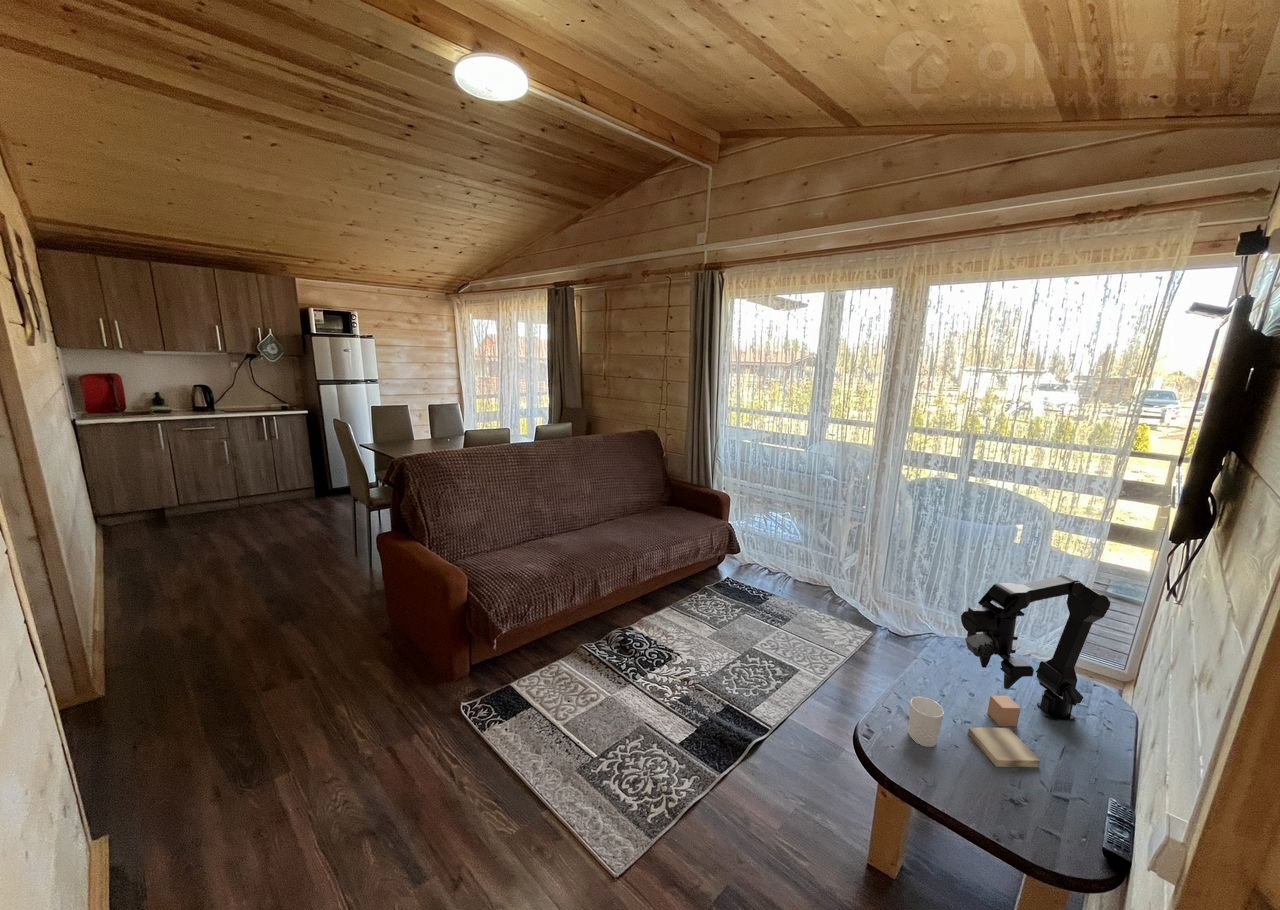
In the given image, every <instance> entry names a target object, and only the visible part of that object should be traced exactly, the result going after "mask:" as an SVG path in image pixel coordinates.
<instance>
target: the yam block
mask: <svg viewBox="0 0 1280 910" xmlns="http://www.w3.org/2000/svg"><path fill="white" fill-rule="evenodd" d="M1020 712H1021V707H1020V706H1019V705H1018V704H1017V703H1016V702H1015V701H1014V700H1013V699H1011V697H1009V695H990V697H989V701H988V708H987V714H988V716H989V717H991V719H992V720H993V721H994V723H996V724H997V725H998V726H999V727H1018V723H1019V719H1020Z"/></svg>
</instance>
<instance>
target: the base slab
mask: <svg viewBox="0 0 1280 910" xmlns="http://www.w3.org/2000/svg"><path fill="white" fill-rule="evenodd" d="M967 734H968V736H969V737H970V738H971V739H972V741H973V742H974V743H975V744H976V745H977V747H978V748H980V750H981V751H982V752H983V753H984V755H985V756H987V758H988V760H990V762H991V763H992V764H993V765H994V766H995V767H996V768H1040V765H1041V764H1040V763H1041V760H1040V759H1039V757H1038V756H1037V755H1036V754H1035V753H1034V752H1033V751H1031V749H1030V748H1029V747H1027V744H1025V743H1024V742H1023V741H1022V740H1021V739H1020V738H1019V737H1018V736H1017V735H1016V734H1015V733H1014V732H1013V730H1012V729H1010V727H968V731H967Z"/></svg>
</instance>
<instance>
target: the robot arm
mask: <svg viewBox="0 0 1280 910" xmlns="http://www.w3.org/2000/svg"><path fill="white" fill-rule="evenodd" d="M1066 595H1067V599H1066V606H1067V610H1068V614H1069V616H1067V617H1068V618H1067V620H1066V623H1065V626H1064V628H1063V631H1062V633H1061V635H1060V637H1059V640H1058V642H1057V645H1056V648H1055V651H1054V652H1053V655H1052V657H1051V658H1050V659H1048V660H1046V661H1045V660H1041V661H1039V665H1038V668H1037V669H1036V671H1035V673H1036V678H1037V680H1038V683H1039V686H1041V687H1043V688H1044V690H1043V691H1044V692H1043V694H1042V696H1041V701H1040V702H1036V705H1037V706H1038V707H1039V708H1040V709H1041V710H1042V711H1043V712H1044V713H1046V715H1048V716H1049V717H1050V718H1051V719H1052V720H1055V721H1059V720H1060V721H1070V720H1071V721H1075V720H1076V717H1075V716H1074V715H1073V714H1072V712H1073V711H1072V710H1073V707H1075V706H1077V705H1078V704H1081V703H1082V701H1083V699H1084V696H1083V695H1082V694H1081V693H1080V691H1079V690H1077V684H1078V677H1077V673H1076V669H1075V667H1076V665H1077V661H1078V660H1079V657H1080V655H1081V652H1082V650H1083V647H1084V645H1085V642H1086V640H1087V639H1088V638H1087V637H1088V635H1089V633H1090V631H1091V628H1092V625H1093V624H1094V623H1095V622H1097V621H1099V620H1102V619H1103V618H1104V617H1105V616H1106V613H1107V612H1108V611H1109V609H1110V608H1111V607H1110V606H1111V601H1110V600H1109V598H1108V596H1106V595H1104V594H1102V593H1100V592H1098V591H1095V590H1094V589H1091V588H1090V587H1087V586H1086V585H1085V584H1083V583H1082V582H1081V581H1080V580H1078V579H1076V578H1074V577H1072V576H1070V575H1067V574H1059V575H1057V576H1056V577H1051V578H1046V579H1041V580H1036V581H1031V582H1026V583H1014V582H997V583H995V584H993V585H992V586H991V587H990V588H989V589H988V591H986V593H985V594H984V595H983V596H982V597H981V599H980V600H979V601H978V604H979V605H980V606H979V607H968V608H967V611H964V612H962V614H961V615H960V620H961V621H960V622H961V625H962V626H963V628H964V630H965V631H966V632H967V634H966V637H965V639H964V640H965V644H966V647H967V650H968V651H970V652H971V653H972V654H973V655H974V656H975V657H978V658H979V662H980V666H981V668H983V669H984V668H985V669H986V668H987V667H988V665H989V663H990V661H991V659H992V656H993V655H998V656H999V657H1000V658H1001V659H1002V660H1001V661H1000V666H1001V667H1000V668H999V669H1000V670H1001V671H1002V672H1003V688H1004V689H1005V690H1009V689H1010V688H1011V687H1013V685H1014V684H1015V683H1016V682H1018V681H1019V680H1020V679H1022V678H1023V677H1025V678H1027V677H1033V675H1034V670H1035V669H1034V667H1033V666H1032V665H1031V664H1029V663H1028V662H1027V661H1025V659H1023V658H1022V657H1018V658H1017V657H1014V656H1013V655H1012V654H1016V649H1015V647H1013V644H1014V641H1018V638H1019V636H1017V635H1016V634H1015V631H1016V623H1017V617H1024V616H1025V613H1024V612H1023V611H1022V610H1023V609H1026V608H1028V606H1029V605H1030V604H1032V603H1033V602H1037V601H1042V600H1047V599H1053V598H1056V597H1062V596H1066ZM992 602H993V603H992ZM994 603H995V604H997V605H998V606H997V605H995V604H994ZM981 606H982V607H981Z"/></svg>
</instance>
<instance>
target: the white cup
mask: <svg viewBox="0 0 1280 910" xmlns="http://www.w3.org/2000/svg"><path fill="white" fill-rule="evenodd" d="M909 704H910V705H909V717H908V720H909V721H908V724H909V725H908V735H909V738H910V737H911V738H912V739H913V740H914V741H915V742H914V743H916V744H918V745H919V744H920V745H919V746H922V747H925V748H933V747H935V746H936V745H937V742H938V738H939V735H940V732H941V728H942V723H943V719H944V714H945V712H944V711H945V710H944V707H942V706H941V705H940V703H938V702H936V701H935V700H933V699H931V698H928V697H925V696H914V697H912V698H911V699H910V703H909ZM911 738H910V739H911ZM912 739H911V740H912ZM913 740H912V741H913Z"/></svg>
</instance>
